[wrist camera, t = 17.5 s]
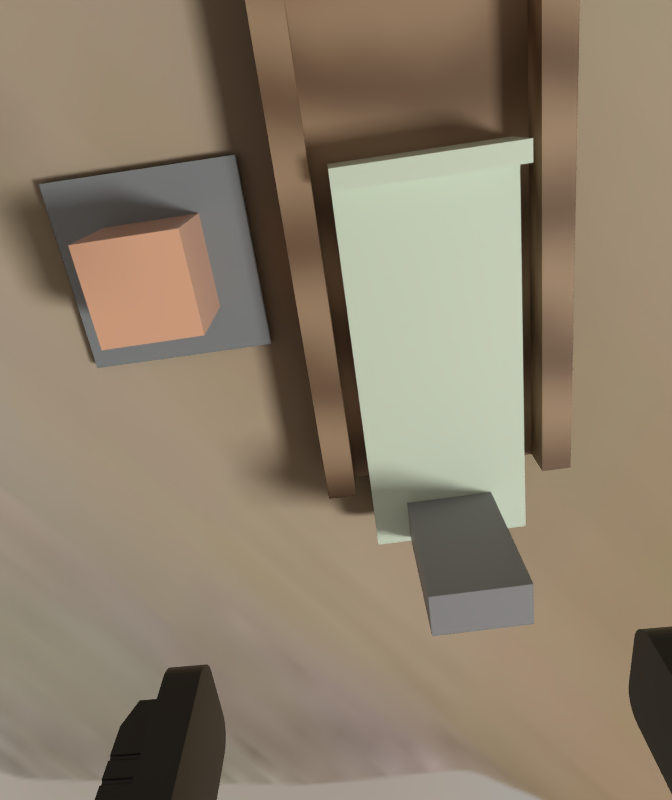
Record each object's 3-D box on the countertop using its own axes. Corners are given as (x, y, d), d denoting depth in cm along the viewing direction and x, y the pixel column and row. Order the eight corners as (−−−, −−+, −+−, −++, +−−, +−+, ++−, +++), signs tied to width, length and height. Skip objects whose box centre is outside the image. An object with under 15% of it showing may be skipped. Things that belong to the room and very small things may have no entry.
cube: (104, 227, 32) (68, 245, 28) (198, 213, 32) (178, 228, 27) (130, 319, 34) (101, 350, 30) (220, 306, 34) (204, 335, 29)
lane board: (229, -124, 27) (218, -154, 24) (554, -179, 26) (584, -216, 23) (328, 470, 39) (329, 498, 36) (551, 441, 39) (570, 467, 36)
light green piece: (327, 163, 30) (329, 180, 22) (511, 136, 30) (587, 142, 21) (376, 530, 39) (392, 644, 31) (518, 512, 39) (574, 623, 30)
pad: (43, 183, 32) (38, 184, 31) (236, 154, 31) (234, 154, 31) (100, 364, 36) (97, 367, 35) (271, 340, 35) (270, 343, 35)
